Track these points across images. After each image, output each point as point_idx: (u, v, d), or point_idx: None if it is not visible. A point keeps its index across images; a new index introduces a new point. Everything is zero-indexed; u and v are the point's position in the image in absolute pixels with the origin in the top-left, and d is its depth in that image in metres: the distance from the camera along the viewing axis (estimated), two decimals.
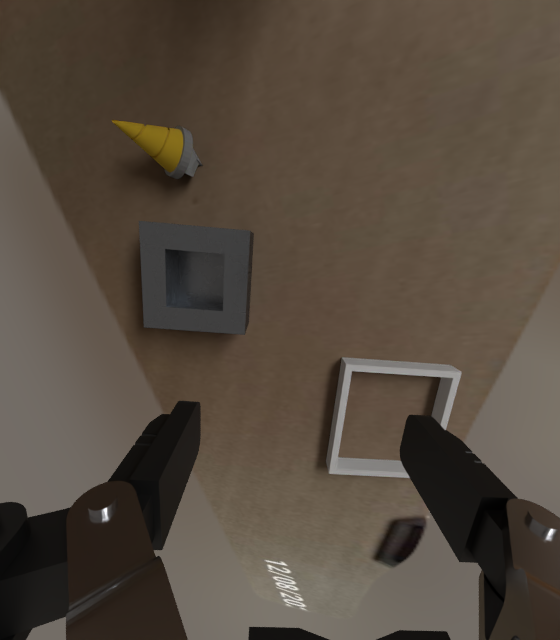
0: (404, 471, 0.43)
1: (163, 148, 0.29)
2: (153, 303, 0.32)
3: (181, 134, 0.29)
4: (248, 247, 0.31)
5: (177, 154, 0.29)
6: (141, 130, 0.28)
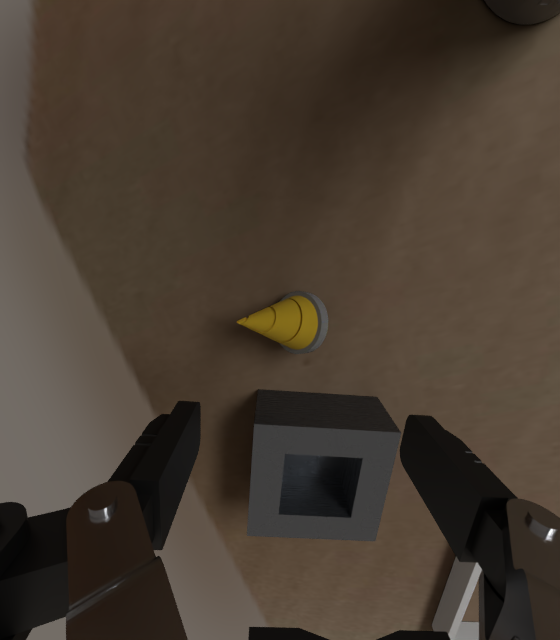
0: None
1: (293, 335, 0.21)
2: (262, 511, 0.25)
3: (314, 311, 0.21)
4: (395, 450, 0.23)
5: (309, 339, 0.21)
6: (271, 323, 0.20)
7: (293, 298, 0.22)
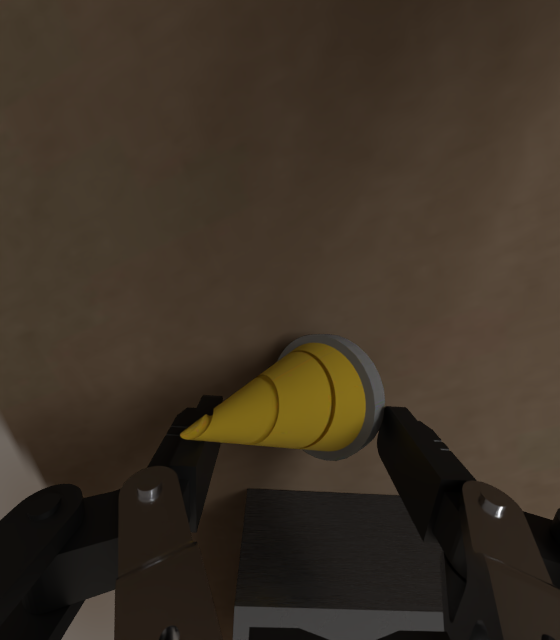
0: None
1: (315, 436, 0.10)
2: None
3: (358, 382, 0.10)
4: None
5: (347, 440, 0.10)
6: (267, 423, 0.08)
7: (313, 351, 0.11)
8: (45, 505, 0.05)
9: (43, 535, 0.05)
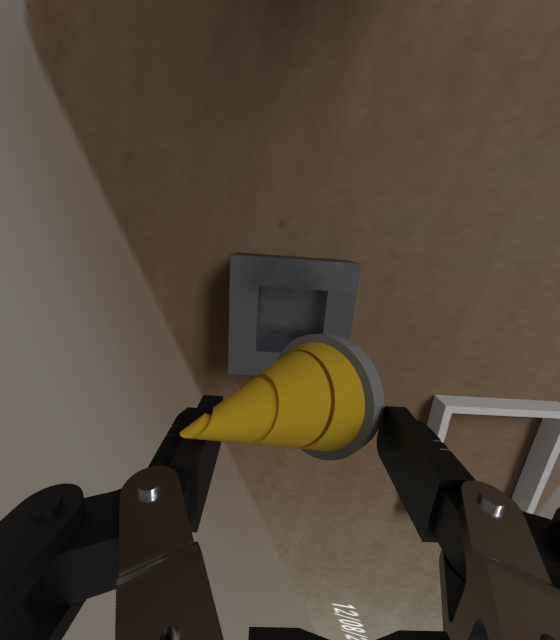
0: None
1: (314, 436, 0.10)
2: (240, 347, 0.28)
3: (357, 382, 0.10)
4: (356, 282, 0.26)
5: (345, 440, 0.10)
6: (266, 423, 0.08)
7: (313, 351, 0.11)
8: (46, 505, 0.05)
9: (44, 534, 0.05)
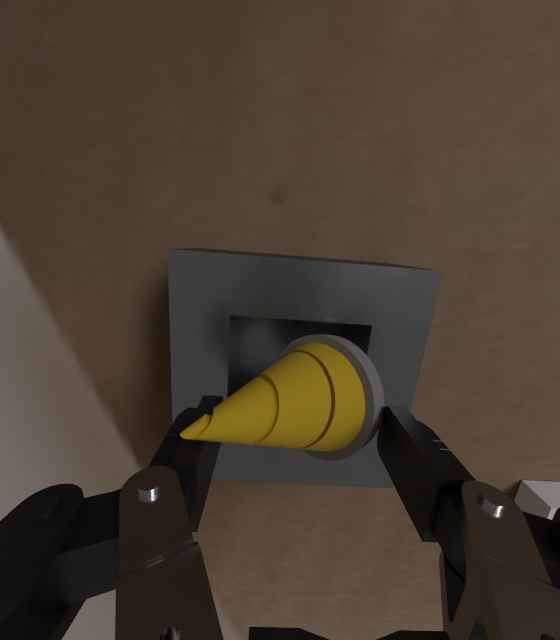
0: None
1: (314, 436, 0.10)
2: None
3: (358, 383, 0.10)
4: (430, 309, 0.13)
5: (346, 441, 0.10)
6: (267, 424, 0.08)
7: (313, 352, 0.11)
8: (46, 505, 0.05)
9: (44, 534, 0.05)
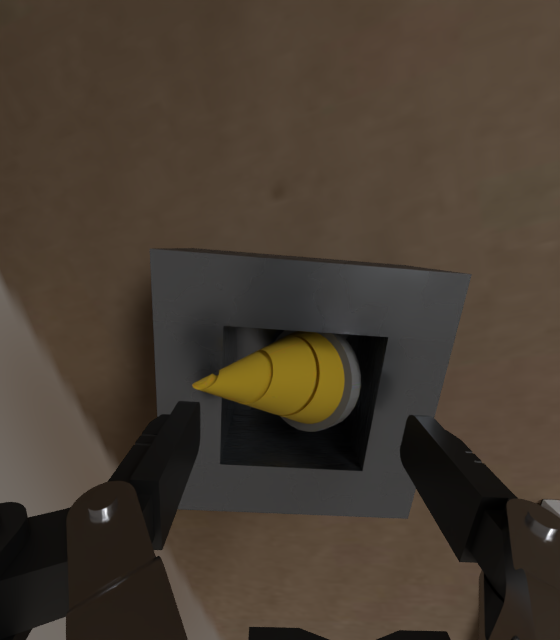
0: None
1: (299, 406, 0.12)
2: None
3: (339, 365, 0.12)
4: (456, 318, 0.11)
5: (325, 413, 0.12)
6: (261, 387, 0.10)
7: (305, 337, 0.13)
8: None
9: None
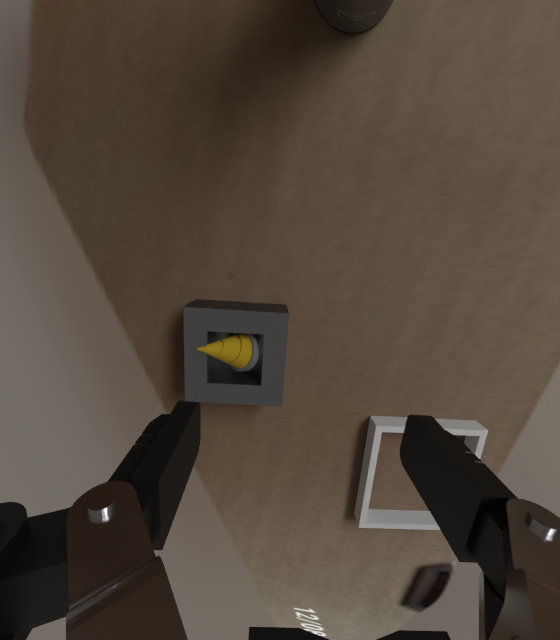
0: (432, 523, 0.44)
1: (234, 359, 0.33)
2: (194, 380, 0.34)
3: (250, 345, 0.33)
4: (286, 327, 0.32)
5: (245, 362, 0.33)
6: (219, 351, 0.32)
7: (238, 335, 0.34)
8: None
9: None
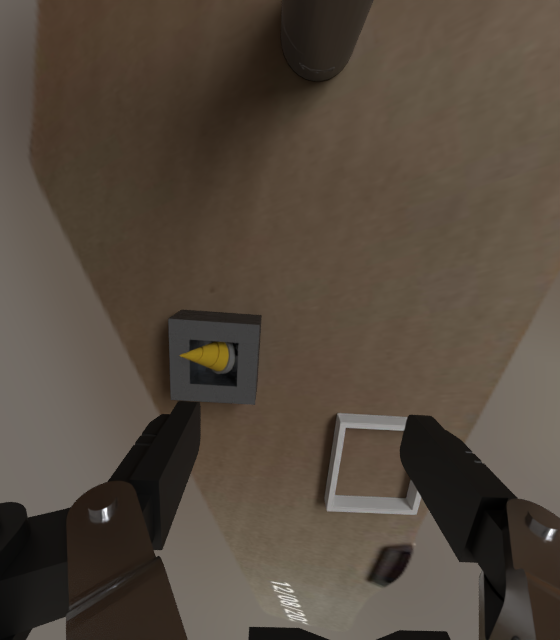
0: (392, 508, 0.50)
1: (213, 363, 0.38)
2: (179, 381, 0.39)
3: (227, 351, 0.38)
4: (258, 337, 0.37)
5: (222, 366, 0.38)
6: (199, 357, 0.37)
7: (217, 342, 0.39)
8: None
9: None
